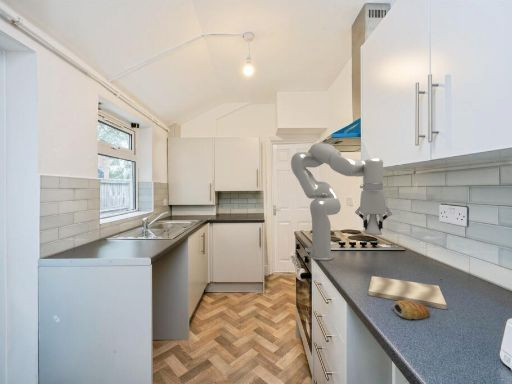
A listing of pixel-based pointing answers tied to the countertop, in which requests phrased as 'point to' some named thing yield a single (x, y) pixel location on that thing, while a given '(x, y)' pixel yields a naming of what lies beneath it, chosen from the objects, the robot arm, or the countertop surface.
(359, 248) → the countertop surface
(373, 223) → the flask
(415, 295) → the birch board
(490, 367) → the countertop surface
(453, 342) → the countertop surface
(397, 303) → the pastry
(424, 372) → the countertop surface
